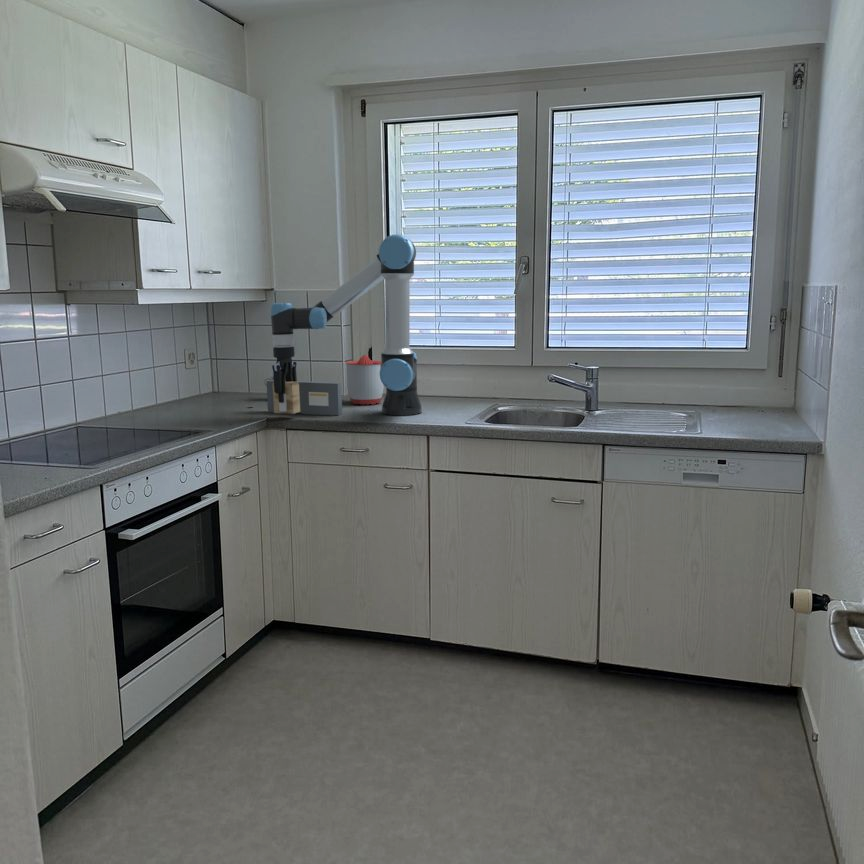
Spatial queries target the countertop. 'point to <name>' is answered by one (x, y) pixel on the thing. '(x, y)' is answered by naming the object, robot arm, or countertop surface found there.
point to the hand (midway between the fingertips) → (287, 409)
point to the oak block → (288, 398)
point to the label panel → (314, 397)
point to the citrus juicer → (364, 381)
